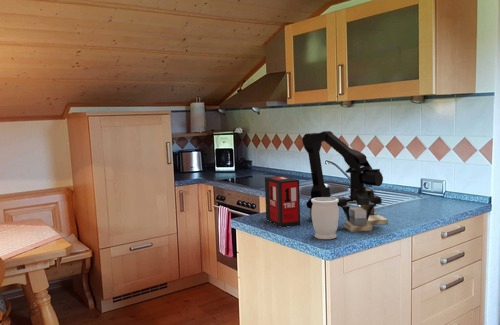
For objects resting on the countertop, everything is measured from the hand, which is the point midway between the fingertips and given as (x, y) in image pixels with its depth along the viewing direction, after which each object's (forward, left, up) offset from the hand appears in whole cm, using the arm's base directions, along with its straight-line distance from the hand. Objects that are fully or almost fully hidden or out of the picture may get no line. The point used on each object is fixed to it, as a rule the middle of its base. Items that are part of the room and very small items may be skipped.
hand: (357, 221), depth 183 cm
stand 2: (+10, +8, -3) cm, 13 cm away
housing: (0, 0, -1) cm, 1 cm away
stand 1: (0, 0, -3) cm, 3 cm away
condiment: (+14, +21, -3) cm, 26 cm away
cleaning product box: (-28, +17, -3) cm, 34 cm away
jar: (-16, -10, -3) cm, 19 cm away
